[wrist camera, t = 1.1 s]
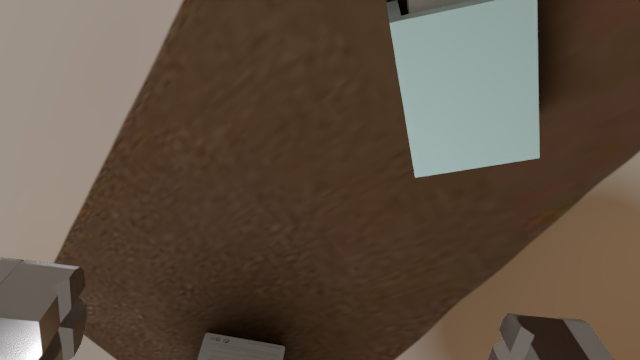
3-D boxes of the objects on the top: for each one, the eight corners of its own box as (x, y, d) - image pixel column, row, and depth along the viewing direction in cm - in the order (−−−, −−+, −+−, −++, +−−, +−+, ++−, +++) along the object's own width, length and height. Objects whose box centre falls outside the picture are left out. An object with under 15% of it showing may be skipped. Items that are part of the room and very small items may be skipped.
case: (517, -27, 36) (537, -9, 32) (522, 126, 42) (539, 157, 38) (386, 2, 38) (389, 22, 34) (409, 146, 44) (415, 177, 40)
